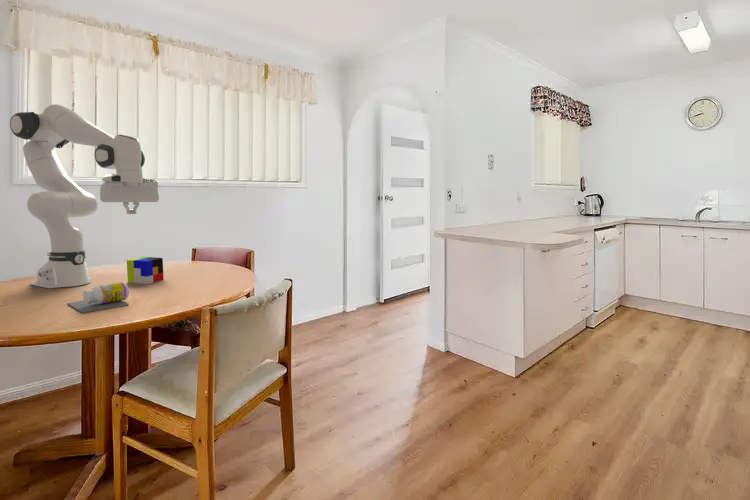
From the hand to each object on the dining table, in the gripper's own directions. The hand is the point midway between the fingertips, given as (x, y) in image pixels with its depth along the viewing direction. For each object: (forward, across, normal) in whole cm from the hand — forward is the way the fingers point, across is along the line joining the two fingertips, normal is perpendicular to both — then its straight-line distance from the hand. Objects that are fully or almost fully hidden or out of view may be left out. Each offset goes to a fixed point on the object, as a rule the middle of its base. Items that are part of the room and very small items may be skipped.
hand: (131, 214), depth 168 cm
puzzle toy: (+31, -11, -18) cm, 38 cm away
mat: (+31, +17, +11) cm, 37 cm away
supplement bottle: (+27, +8, +12) cm, 31 cm away
